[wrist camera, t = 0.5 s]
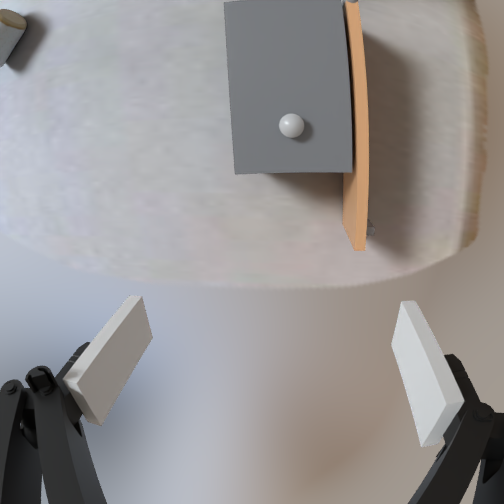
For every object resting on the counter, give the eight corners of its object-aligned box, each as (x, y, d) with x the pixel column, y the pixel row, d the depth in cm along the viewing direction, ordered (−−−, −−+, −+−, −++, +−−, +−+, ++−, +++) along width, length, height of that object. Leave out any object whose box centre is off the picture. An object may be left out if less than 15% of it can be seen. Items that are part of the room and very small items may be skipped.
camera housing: (238, 12, 27) (220, -19, 19) (329, 8, 26) (338, -24, 17) (248, 163, 34) (233, 175, 26) (339, 161, 32) (353, 174, 24)
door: (333, 18, 26) (343, -9, 18) (352, 19, 25) (367, -7, 18) (341, 223, 35) (353, 250, 27) (359, 223, 34) (375, 250, 27)
